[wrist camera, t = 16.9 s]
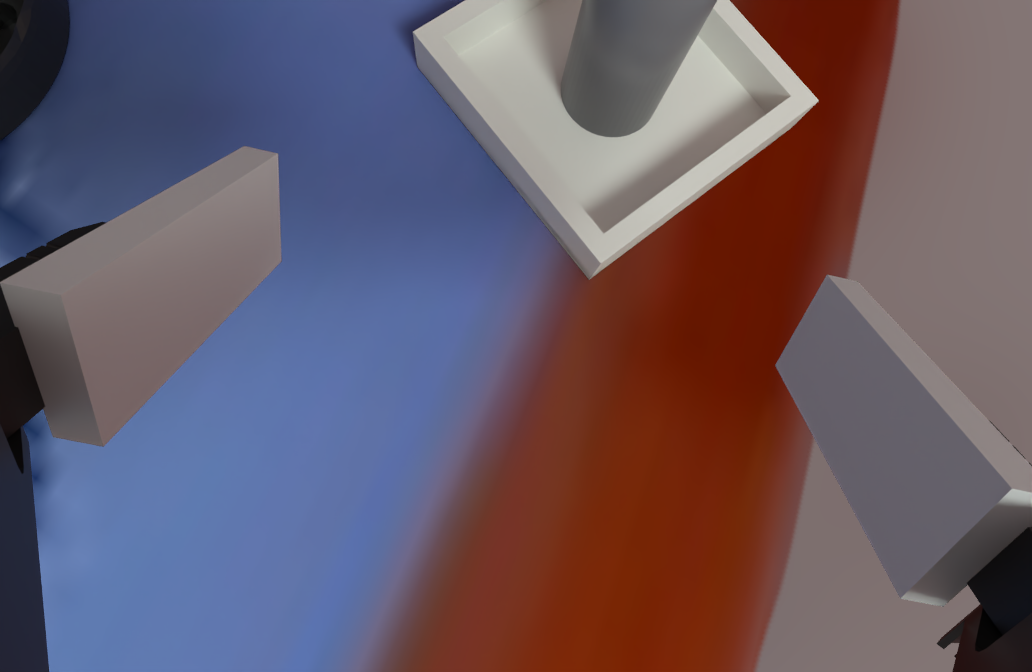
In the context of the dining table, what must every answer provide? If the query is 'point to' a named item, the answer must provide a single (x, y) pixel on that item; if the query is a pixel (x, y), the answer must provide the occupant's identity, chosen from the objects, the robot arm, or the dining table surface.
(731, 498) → the dining table surface
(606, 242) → the tray
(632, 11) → the charcoal cell
